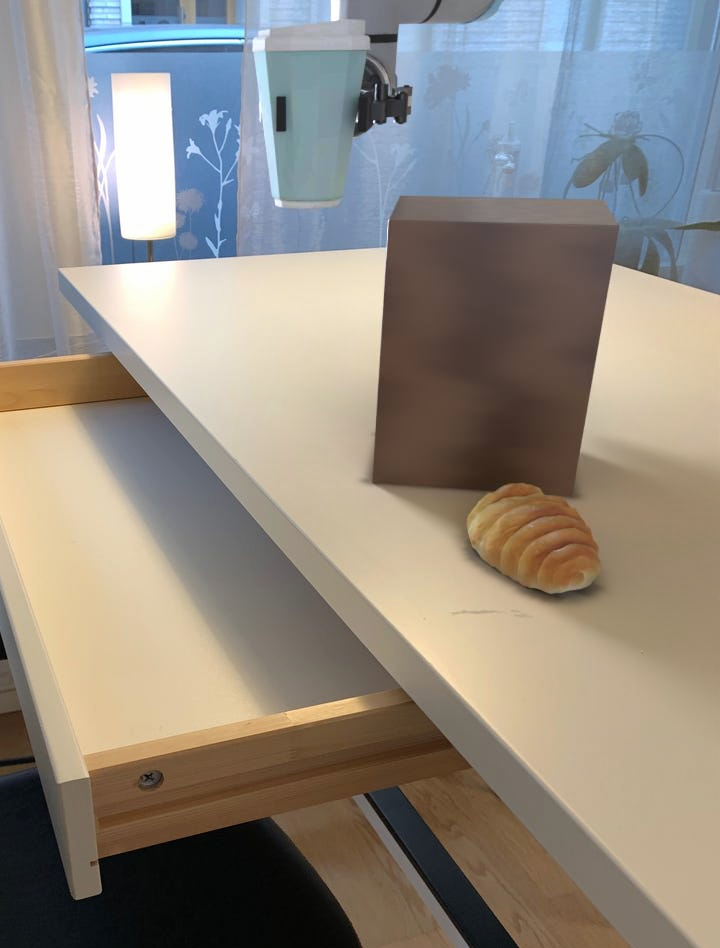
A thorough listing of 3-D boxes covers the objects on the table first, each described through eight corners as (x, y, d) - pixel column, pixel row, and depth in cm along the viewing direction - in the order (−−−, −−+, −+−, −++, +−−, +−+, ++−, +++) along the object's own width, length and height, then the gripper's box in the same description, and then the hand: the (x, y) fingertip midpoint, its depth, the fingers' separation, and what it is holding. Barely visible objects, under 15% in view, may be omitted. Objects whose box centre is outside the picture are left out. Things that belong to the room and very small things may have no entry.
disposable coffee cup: (235, 211, 94) (230, 22, 86) (277, 195, 103) (276, 20, 95) (344, 216, 90) (350, 19, 83) (379, 198, 99) (387, 18, 91)
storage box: (553, 390, 91) (587, 171, 82) (571, 498, 71) (619, 225, 62) (396, 382, 94) (412, 169, 84) (372, 484, 74) (388, 220, 64)
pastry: (628, 592, 60) (640, 533, 58) (524, 610, 58) (533, 550, 56) (544, 526, 67) (552, 472, 65) (451, 540, 66) (457, 486, 64)
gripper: (441, 135, 107) (431, 163, 88) (261, 134, 111) (213, 160, 92) (448, 53, 103) (438, 64, 84) (260, 55, 107) (210, 65, 88)
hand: (321, 114), depth 88 cm, fingers open, 6 cm apart
